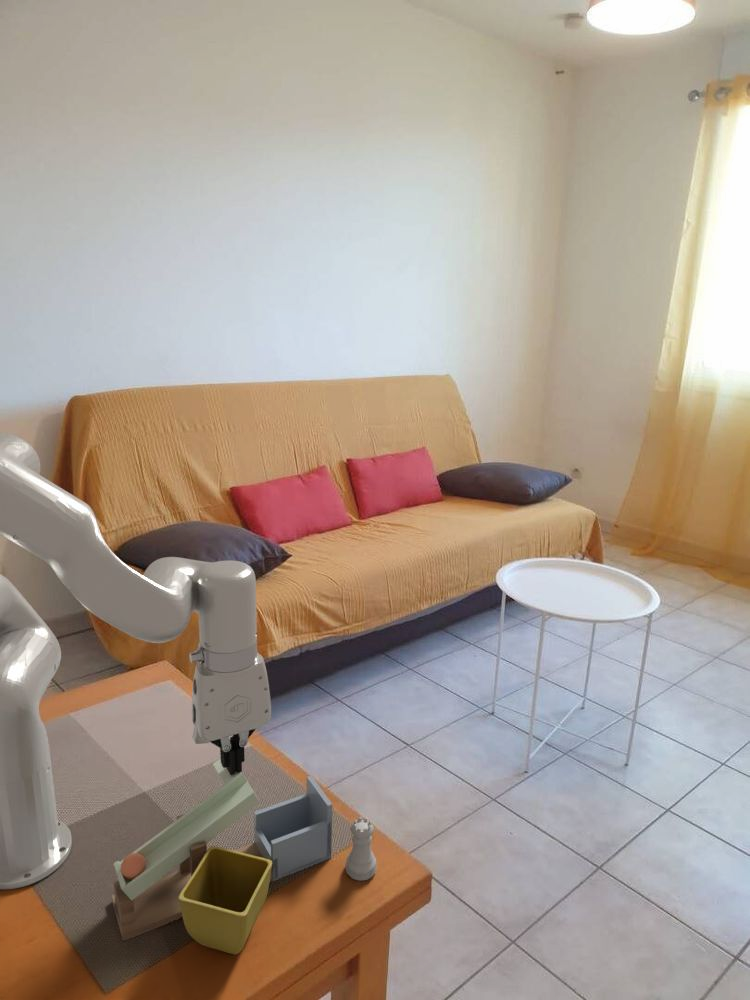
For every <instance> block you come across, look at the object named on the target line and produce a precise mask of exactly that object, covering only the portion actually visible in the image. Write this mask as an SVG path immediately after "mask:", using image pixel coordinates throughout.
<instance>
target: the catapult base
mask: <svg viewBox="0 0 750 1000" xmlns="http://www.w3.org/2000/svg"><path fill="white" fill-rule="evenodd" d="M184 814H185V813H183V814H180V815H178V816H176V820H177V819H179V818H180V817H181V816H183V815H184ZM189 848H190V857H188V858H187V859H186V860H184V861H183V862H182V863H180V864H179V865H178V866H179V870H177V871H174V872H172V873H168V874H166V875H165V876H163V877H162V878H161V879H159V880H158V881H157V882H155V883H154V884H153V885H152V886H150V887H149V888H148V889H146V890H145V891H144V892H142V893H141V894H140V895H138V896H137V897H136V898H134V899H133V900H132V901H131V899H130V898H129V897H128V896H127V895H126V894H125V893H124V892H123V890H122V889H121V887H120V883H119V880H118V879H117V880H115V881H113V890H114V891H113V893H114V894H112V895H111V902H112V906H113V910H114V914H115V916H116V917H115V918H116V920H117V924H118V927H119V932H120V934H121V939H122V942H125V941H128V940H130V939H132V938H135V937H138V936H140V935H142V934H145V933H147V932H150V931H152V930H155V929H157V928H159V927H162V926H165V925H167V924H170V923H172V922H175V921H177V920H179V918H180V919H182V918H183V917H182V912H181V908H180V903H179V899H178V898H179V895H180V893H181V891H182V890H183V889H184V887H185V886H186V884H187V882H188V881H189V879H190V878H191V876H192V875H193V874H194V872H195V870H196V869H197V867H198V865H199V864H200V862H201V860H202V859H203V857H204V855H205V854H206V852H207V850H208V845H207V844H206V842H205V841H203V842H200V843H197V844H194V845H192V846H189ZM232 850H233V851H237V852H241V853H245V854H249V855H253V856H257V857H262V858H263V856H262V855H261V853H260V851H259V849H258V847H257V846H256V844H255V842H252V843H250V844H247V845H245V846H242V847H239V848H236V849H232ZM271 882H274V881H273V875H272V873H271V875H270V882H269V883H271ZM181 917H182V918H181ZM174 920H175V921H174ZM169 922H170V923H169Z"/></svg>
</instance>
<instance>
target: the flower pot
mask: <svg viewBox="0 0 750 1000" xmlns="http://www.w3.org/2000/svg"><path fill="white" fill-rule="evenodd" d="M233 850H234V849H228V848H225V847H221V846H218V845H217V846H216V845H215V846H214V845H211V846H209V847H208V848H207V852H206V854H205V855H204V857H203V859H202V860H201V862H200V864H199V865H198V867H197V869H196V870H195V872H194V874H193V875H192V876H191V878H190V879H189V881H188V882H187V884H186V886H185V887H184V889H183V890H182V891H181V893H180V895H179V898H178V899H179V903H180V908H181V912H182V920H183V924H184V927H185V929H186V931H187V933H188V934H189V936H190V937H191V938H192V939H193V940H194V941H196V943H199V944H200V945H201V946H204V947H206V948H211V949H213V950H217V951H220V952H224V953H228V954H232V955H238V954H239V953H240V952H241V951H242V950H243V949H244V946H245V944H246V943H247V941H248V939H249V935H250V934H251V932H252V929H253V927H254V926H255V923H256V921H257V919H258V918H259V916H260V913H261V912H262V909H263V907H264V905H265V903H266V899H267V896H268V893H269V888H270V887H269V886H270V883H271V882H270V875H271V868H272V861H271V860H269V859H265V858H262V857H257V856H253V855H249V854H245V853H241V852H237V851H233Z"/></svg>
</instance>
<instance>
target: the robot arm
mask: <svg viewBox="0 0 750 1000" xmlns="http://www.w3.org/2000/svg"><path fill="white" fill-rule="evenodd" d="M40 474H41V462H40V457H39V455H38V453H37V451H36V450H35V449H34V448H33V446H32V445H31V444H29V442H27V441H25V440H24V439H22V438H20V437H18V436H16V435H13V434H8V433H0V536H2V537H3V538H6V539H7V540H9V541H11V542H13V543H14V544H16V545H17V546H19V547H21V548H23V549H24V550H26V551H27V552H29V553H31V554H33V555H35V556H36V557H38V558H39V559H40V560H42V561H44V562H46V563H47V564H48V565H49V566H50V567H51V568H52V570H53V572H54V573H55V574H56V576H57V577H58V579H59V581H60V582H61V583H62V584H63V585H64V586H65V588H66V589H67V590H68V591H69V593H71V594H72V596H74V598H75V599H76V600H77V601H78V602H79V603H80V605H82V606H83V607H84V608H85V609H86V610H87V611H89V612H90V613H92V614H93V615H94V616H96V617H97V618H99V619H100V620H101V621H103V622H105V623H107V624H108V625H110V626H113V627H114V628H116V629H117V630H119V631H121V632H123V633H125V634H126V635H128V636H130V637H133V638H135V639H137V640H141V641H143V642H147V643H152V644H163V643H167V642H170V641H173V640H175V639H176V638H177V637H178V636H181V634H182V633H183V632H184V631H185V630H186V629H187V627H188V625H189V622H190V619H191V617H192V614H193V613H194V612H195V613H196V614H197V616H198V631H199V632H198V633H199V642H198V643H197V644H198V647H197V649H196V650H194V651H192V652H189V654H188V655H189V661H190V663H191V664H192V663H196V664H195V669H194V674H193V681H192V691H191V692H192V694H191V720H192V723H193V726H194V727H193V731H192V735H191V736H192V739H193V742H194V743H195V744H196V745H200V744H201V745H203V744H209V743H211V744H213V745H215V746H216V747H218V748H219V749H220V750H219V751H220V753H219V755H220V758H221V764H222V766H223V768H227V770H228V771H229V773H230V775H233V774H235V773H236V772H238V773H241V772H242V771H243V763H244V762H245V747H246V746H247V745H248V740H249V738H250V737H251V736H252V734H253V733H255V731H256V729H259V728H261V727H264V726H265V725H268V723H270V721H271V718H272V702H271V694H270V693H271V692H270V684H269V678H268V671H267V668H266V663H265V659H264V657H263V656H262V655H261V654H260V653H259V652H258V626H257V624H258V623H257V622H258V621H257V582H256V581H257V579H256V574H255V571H254V569H253V568H252V567H251V565H249V564H247V563H245V562H243V561H239V560H230V559H229V560H219V561H218V560H217V561H213V562H211V561H203V560H196V559H189V558H186V557H185V558H184V557H177V556H167V557H166V556H165V557H161V558H157V559H156V560H154V561H153V562H151V563H150V564H149V565H148V566H147V568H146V569H145V570H144V572H143V574H141V573H139V572H138V571H136V570H135V569H134V568H132V567H130V566H128V564H126V563H125V562H124V561H122V559H120V558H119V557H118V556H117V555H116V554H115V553H114V552H113V551H112V549H111V548H110V547H109V545H108V544H107V542H106V541H105V539H104V537H103V535H102V533H101V530H100V526H99V524H98V519H97V518H96V515H95V513H94V511H93V509H92V508H91V506H90V505H89V504H88V503H86V502H85V501H83V500H81V499H80V498H78V497H76V496H75V495H73V494H72V493H71V492H68V491H67V490H65V489H64V488H61V487H60V486H59V485H57V484H56V483H53V482H52V481H50V480H49V479H48V478H46V477H43V476H42V475H40ZM61 659H62V649H61V645H60V643H59V641H58V638H57V637H56V635H55V633H53V631H52V630H51V628H50V627H49V626H48V625H47V623H46V622H45V621H44V620H43V619H42V618H41V616H40V615H39V614H38V613H37V611H36V610H35V609H34V608H33V607H32V605H31V604H30V603H29V602H28V601H27V600H26V598H25V597H24V596H23V595H22V593H21V592H20V591H19V590H18V588H17V587H16V586H15V585H14V584H13V583H12V582H11V581H10V580H9V579H8V578H7V577H5V575H3V574H1V573H0V890H13V889H17V888H18V889H19V888H23V887H26V886H29V885H32V884H35V883H37V882H39V881H42V880H43V879H44V878H46V877H48V876H49V875H51V874H53V872H55V871H56V870H57V869H58V868H60V866H61V865H62V864H63V863H65V861H66V859H67V858H68V856H69V854H70V852H71V849H72V845H73V840H72V833H71V830H70V828H69V827H68V825H66V824H65V823H64V822H63V821H60V820H59V819H58V813H57V804H56V793H55V785H54V777H53V770H52V769H53V768H52V761H51V751H50V745H49V744H50V743H49V738H48V734H47V729H46V726H45V725H44V722H43V721H42V718H41V715H40V708H39V707H40V702H41V700H42V697H43V695H44V694H45V692H46V690H47V688H48V686H49V684H50V683H51V682H52V679H53V677H54V676H55V674H56V673H57V671H58V669H59V666H60V664H61Z"/></svg>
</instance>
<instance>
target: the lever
mask: <svg viewBox="0 0 750 1000" xmlns="http://www.w3.org/2000/svg"><path fill="white" fill-rule="evenodd" d="M212 765H213V767H214V768H215V771H216V772H217V774H218V776H219V777H220V780H221V781H222V783H223V786H221V787H219V788H218V789H217V790H216V791H214V792H213V793H211V794H210V795H208V796H207V797H206V798H205V799H203V800H201V801H200V802H198V804H197V805H195V806H193V808H191V809H189V810H188V811H187V812H186V813H183V814H184V815H183V814H182V815H183V816H181V817H180V818H179V819H177V818H176V820H175V821H173V822H172V823H171V824H169V825H168V826H166V827H165V828H163V830H161V831H159V832H158V833H156V835H154V836H153V837H152V838H150V839H148V841H146V842H145V843H143V844H142V845H141V846H140V847H138V848H137V849H135V850H134V851H133V852H131V853H130V854H132V853H139V854H141V855H142V856H143V857H144V858H145V861H146V868H145V871H144V872H143V873H141V874H140V875H139V876H137V877H136V878H135V879H127V878H126V877H124V875H123V874H122V871H121V865H122V862H123V860H124V859H125V858H126V857H124V858H123V859H122V860H120V861H119V860H117V861H115V862H114V863H113V866H114V870H115V873H116V876H117V881H118V880H119V883H120V887H121V889H122V890H123V892H124V893H125V894H126V895H127V896H128V897H129V898H130V899H131V901H132V900H133V899H134V898H136V897H137V896H138V895H140V894H141V893H142V892H144V891H145V890H146V889H148V888H149V887H150V886H152V885H153V884H154V883H155V882H157V881H158V880H159V879H161V878H162V877H163V876H166V875H168V874H170V872H171V871H173V870H174V869H175V868H177V866H179V864H180V863H182V862H183V861H184V860H186V859H187V858H188V857H190V848H189V846H192V845H194V844H197V843H200V842H203V841H205V842H206V845H207V844H208V843H210V842H211V841H213V840H214V839H215V838H217V836H219V835H220V834H221V833H222V832H224V831H225V830H226V829H228V828H230V827H231V826H232V825H233V824H235V823H236V822H237V821H239V820H240V819H241V818H243V817H244V816H246V814H247V813H249V812H250V811H253V809H254V808H256V807H257V806H258V805H260V804H261V801H260V800H259V798H258V796H257V794H256V793H255V791H254V789H253V787H252V786H251V785H250V783H249V781H248V780H247V779H246V777H245V775H244V774H243V773H242V772H240V773H238V772H236V773H235V774H233V775H230V773H229V771H228V770H227V768H223V766H222V764H221V757H220V758H219V759H218V760H216V761H215V762H214V763H212Z"/></svg>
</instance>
